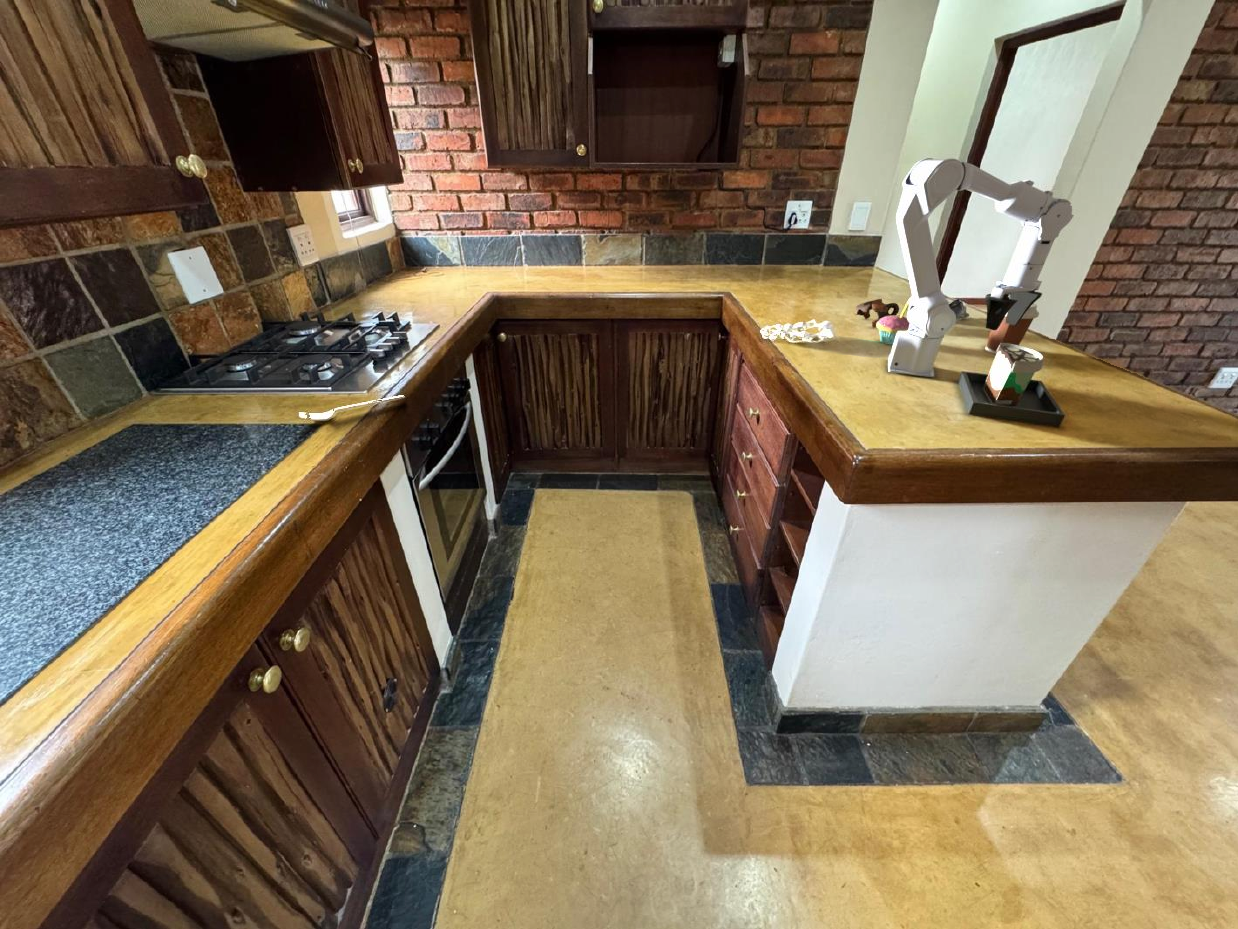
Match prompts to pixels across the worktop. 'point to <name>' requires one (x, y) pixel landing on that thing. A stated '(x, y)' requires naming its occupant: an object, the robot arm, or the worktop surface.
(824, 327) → the tangled rod sculpture
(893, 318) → the cupcake
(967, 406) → the tray
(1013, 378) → the food container
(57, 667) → the worktop surface
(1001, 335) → the coffee cup
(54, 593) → the worktop surface
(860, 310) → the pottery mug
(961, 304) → the snack package
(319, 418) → the fork
